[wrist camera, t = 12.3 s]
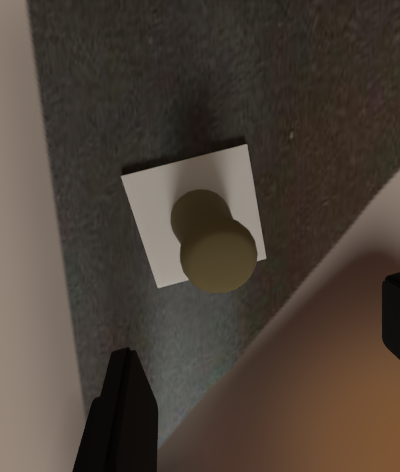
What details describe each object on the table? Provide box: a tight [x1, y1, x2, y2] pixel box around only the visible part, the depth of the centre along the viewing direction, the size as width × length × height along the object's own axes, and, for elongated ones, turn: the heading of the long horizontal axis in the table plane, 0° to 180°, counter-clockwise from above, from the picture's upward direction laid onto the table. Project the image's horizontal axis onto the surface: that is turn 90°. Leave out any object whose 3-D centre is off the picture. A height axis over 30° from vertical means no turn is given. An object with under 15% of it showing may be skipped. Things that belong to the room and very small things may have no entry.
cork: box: [170, 189, 258, 293], centre depth 22 cm, size 6×6×11 cm
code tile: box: [121, 144, 266, 288], centre depth 28 cm, size 12×12×1 cm
